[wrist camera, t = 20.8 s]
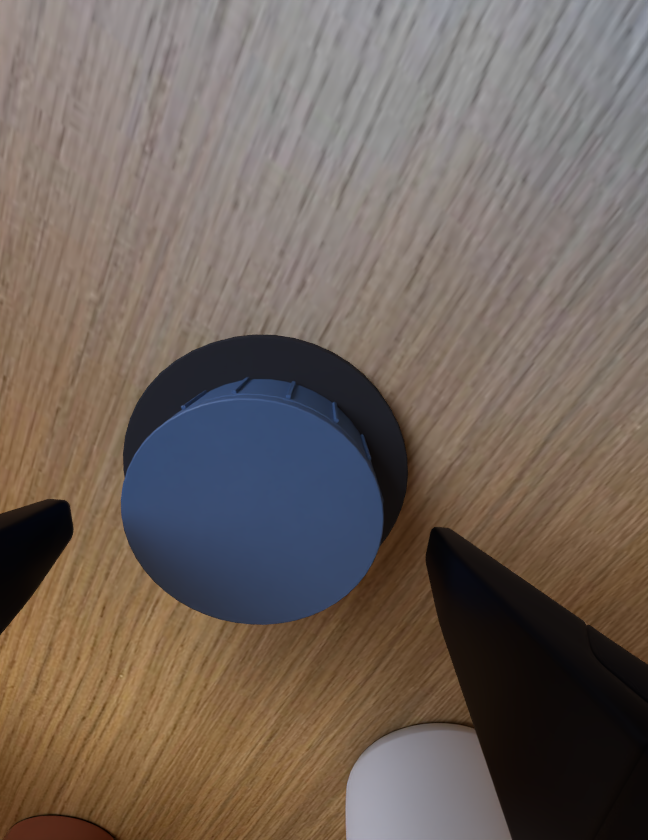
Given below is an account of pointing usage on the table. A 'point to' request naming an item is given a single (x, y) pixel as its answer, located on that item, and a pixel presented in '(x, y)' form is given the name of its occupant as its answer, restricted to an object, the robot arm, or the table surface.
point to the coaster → (285, 364)
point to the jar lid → (254, 503)
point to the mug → (424, 788)
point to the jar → (55, 829)
